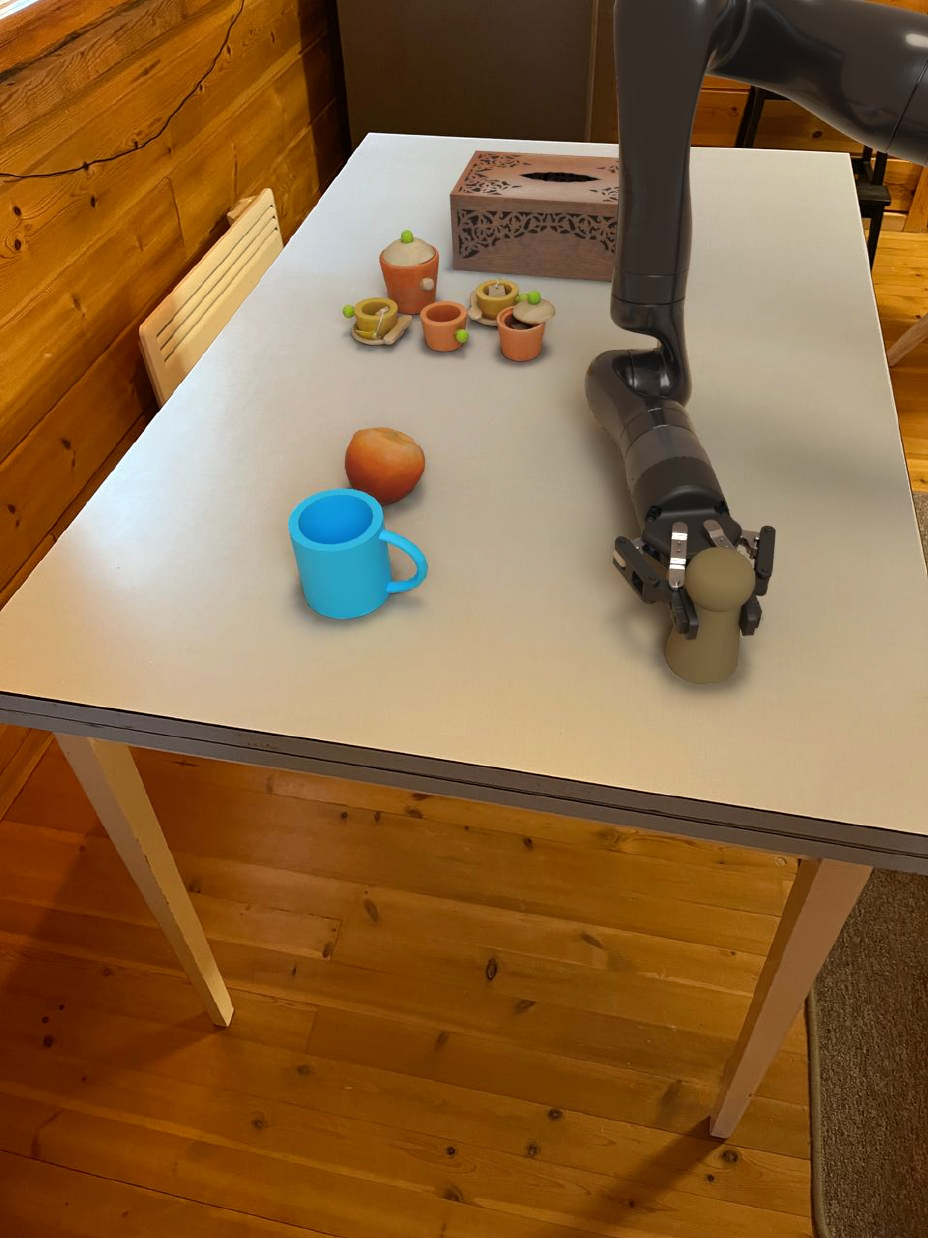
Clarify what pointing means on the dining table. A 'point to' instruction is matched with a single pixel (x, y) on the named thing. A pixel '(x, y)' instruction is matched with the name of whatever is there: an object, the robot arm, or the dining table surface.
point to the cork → (712, 616)
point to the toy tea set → (446, 306)
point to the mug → (347, 553)
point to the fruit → (384, 464)
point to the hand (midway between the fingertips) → (722, 630)
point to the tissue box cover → (536, 215)
